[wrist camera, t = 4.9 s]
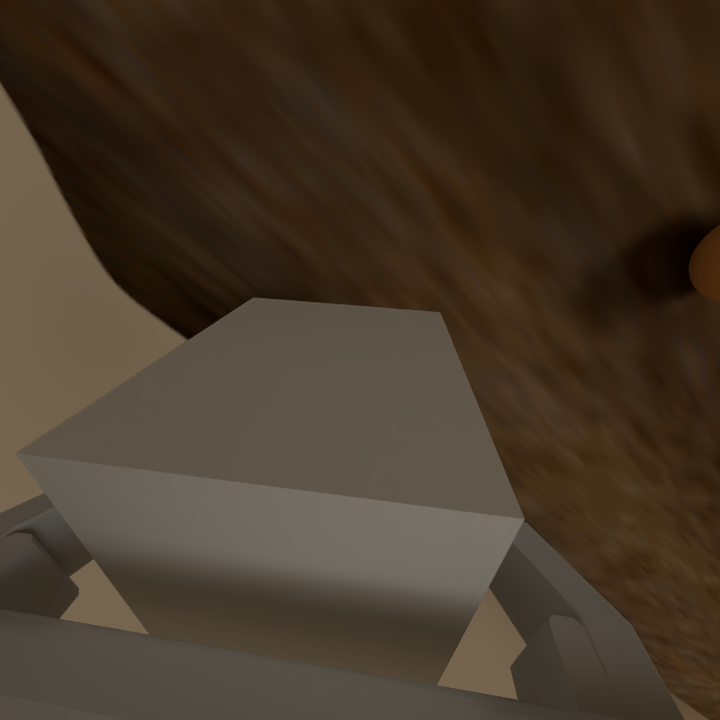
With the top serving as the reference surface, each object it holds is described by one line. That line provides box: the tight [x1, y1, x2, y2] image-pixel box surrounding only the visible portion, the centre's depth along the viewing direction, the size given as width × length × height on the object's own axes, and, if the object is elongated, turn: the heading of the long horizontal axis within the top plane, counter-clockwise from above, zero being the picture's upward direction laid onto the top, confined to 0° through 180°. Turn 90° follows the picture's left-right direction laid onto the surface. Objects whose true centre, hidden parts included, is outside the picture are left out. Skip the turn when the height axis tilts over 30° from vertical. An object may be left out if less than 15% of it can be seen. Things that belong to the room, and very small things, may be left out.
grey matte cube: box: [16, 298, 524, 685], centre depth 9 cm, size 7×7×8 cm
